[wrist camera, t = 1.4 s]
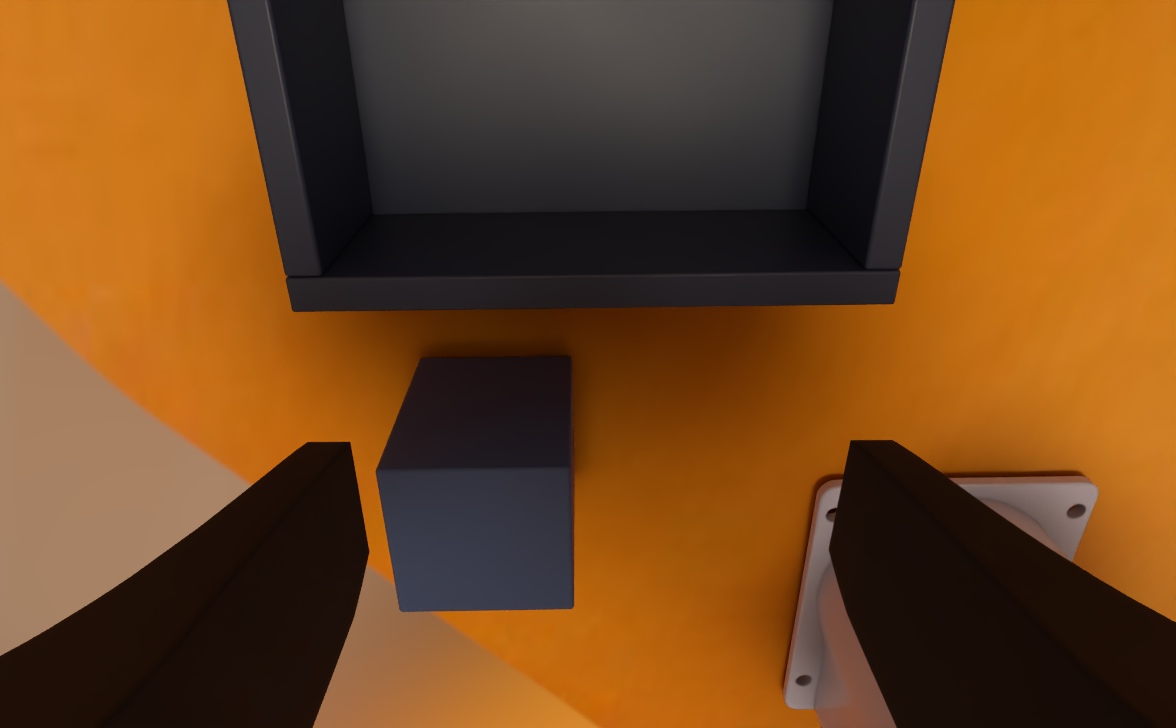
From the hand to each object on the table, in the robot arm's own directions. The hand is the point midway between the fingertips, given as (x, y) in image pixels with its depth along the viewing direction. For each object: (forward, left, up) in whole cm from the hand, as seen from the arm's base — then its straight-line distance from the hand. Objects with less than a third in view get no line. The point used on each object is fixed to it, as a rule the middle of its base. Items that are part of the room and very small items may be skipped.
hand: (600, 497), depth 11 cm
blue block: (-4, +3, -9) cm, 10 cm away
